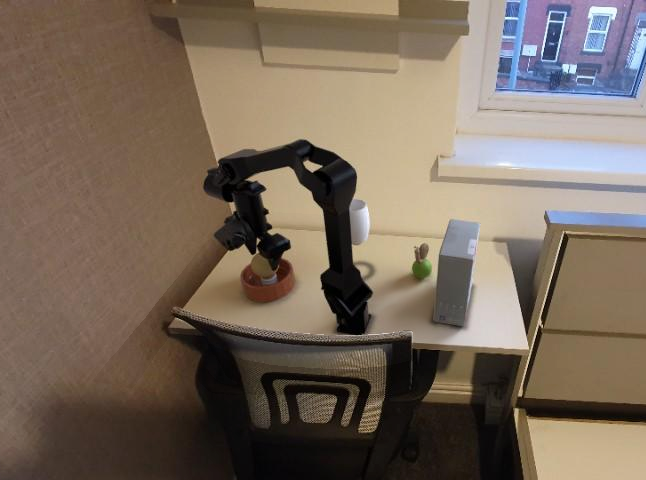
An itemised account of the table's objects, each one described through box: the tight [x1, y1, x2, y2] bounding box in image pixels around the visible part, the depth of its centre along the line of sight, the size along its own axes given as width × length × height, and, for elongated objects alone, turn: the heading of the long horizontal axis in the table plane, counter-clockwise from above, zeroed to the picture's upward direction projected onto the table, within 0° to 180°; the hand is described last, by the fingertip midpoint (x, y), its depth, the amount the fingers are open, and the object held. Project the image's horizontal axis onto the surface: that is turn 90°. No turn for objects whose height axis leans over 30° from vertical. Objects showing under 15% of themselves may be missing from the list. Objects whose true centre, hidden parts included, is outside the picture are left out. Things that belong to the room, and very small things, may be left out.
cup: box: [349, 198, 371, 246], centre depth 102 cm, size 7×7×21 cm
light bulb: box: [250, 252, 279, 287], centre depth 98 cm, size 6×6×10 cm
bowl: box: [239, 257, 296, 303], centre depth 100 cm, size 12×12×5 cm
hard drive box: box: [433, 218, 481, 327], centre depth 94 cm, size 16×8×20 cm, turn 168°
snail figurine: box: [411, 242, 433, 279], centre depth 104 cm, size 5×6×12 cm
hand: (263, 262), depth 97 cm, fingers open, 9 cm apart
